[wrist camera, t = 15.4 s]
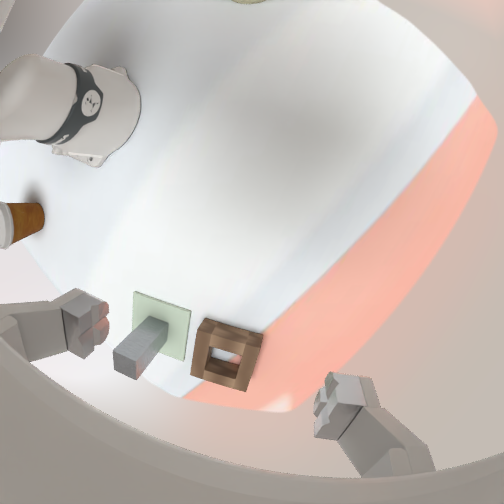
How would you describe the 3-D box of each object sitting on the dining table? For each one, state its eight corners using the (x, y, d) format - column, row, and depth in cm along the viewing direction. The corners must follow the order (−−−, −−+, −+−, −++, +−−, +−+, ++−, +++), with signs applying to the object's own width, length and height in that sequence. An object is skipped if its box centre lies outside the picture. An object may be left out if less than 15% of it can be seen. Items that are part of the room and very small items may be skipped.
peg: (147, 333, 46) (114, 369, 34) (148, 315, 45) (112, 350, 33) (167, 340, 46) (136, 380, 34) (168, 322, 45) (135, 361, 33)
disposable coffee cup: (25, 198, 45) (-14, 206, 33) (46, 192, 43) (3, 199, 32) (29, 238, 47) (-8, 251, 36) (51, 236, 46) (9, 250, 34)
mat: (133, 339, 48) (132, 341, 47) (135, 291, 45) (133, 292, 44) (184, 359, 47) (183, 361, 46) (191, 310, 44) (190, 312, 43)
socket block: (197, 362, 47) (190, 374, 43) (204, 317, 44) (197, 329, 40) (249, 377, 46) (245, 392, 42) (263, 334, 43) (260, 348, 39)
